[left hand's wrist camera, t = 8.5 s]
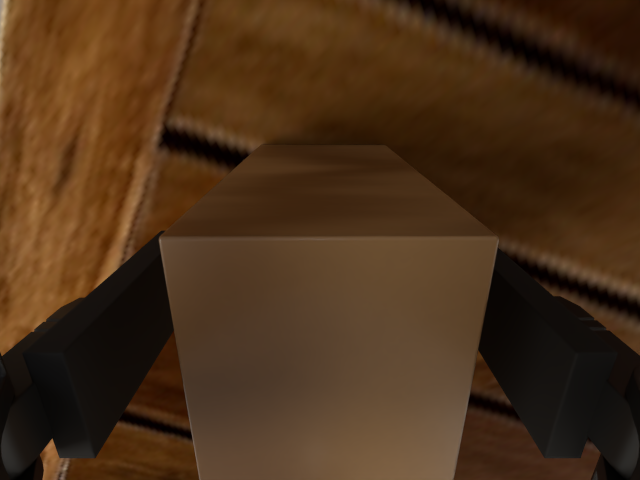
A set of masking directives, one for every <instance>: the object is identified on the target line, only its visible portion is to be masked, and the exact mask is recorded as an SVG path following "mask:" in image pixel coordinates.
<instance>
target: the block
mask: <svg viewBox="0 0 640 480" xmlns="http://www.w3.org/2000/svg"><path fill="white" fill-rule="evenodd" d="M498 243H499V238H498V236H497V235H496V234H494V233H493V232H492V231H491V230H489V229H488V228H487V227H486V226H485V225H483V224H482V223H481V222H480V221H478V220H477V219H476V218H475V217H473V216H472V215H471V214H470V213H469V212H467V211H466V210H465V209H464V208H462V207H461V206H460V205H459V204H457V203H456V202H455V201H454V200H452V199H451V198H450V197H449V196H448V195H446V194H445V193H444V192H443V191H441V190H440V189H439V188H438V187H436V186H435V185H434V184H433V183H432V182H430V181H429V180H428V179H427V178H425V177H424V176H423V175H422V174H420V173H419V172H418V171H417V170H415V169H414V168H413V167H412V166H411V165H409V164H408V163H407V162H406V161H404V160H403V159H402V158H401V157H399V156H398V155H397V154H396V153H394V152H393V151H392V150H391V149H390V148H388V147H387V146H386V145H260V146H259V147H258V148H257V149H256V150H255V151H254V152H252V153H251V154H250V155H249V156H248V157H247V158H246V159H245V160H244V161H243V162H241V163H240V164H239V165H238V166H237V167H236V168H235V169H234V170H233V171H231V172H230V173H229V174H228V175H227V176H226V177H225V178H224V179H223V180H221V181H220V182H219V183H218V184H217V185H216V186H215V187H214V188H213V189H212V190H210V191H209V192H208V193H207V194H206V195H205V196H204V197H203V198H202V199H200V200H199V201H198V202H197V203H196V204H195V205H194V206H193V207H192V208H191V209H189V210H188V211H187V212H186V213H185V214H184V215H183V216H182V217H181V218H179V219H178V220H177V221H176V222H175V223H174V224H173V225H172V226H171V227H170V228H168V229H167V230H166V231H165V232H164V233H163V234H162V235H161V236H160V237H159V245H160V251H161V257H162V262H163V268H164V274H165V280H166V286H167V292H168V297H169V303H170V309H171V315H172V321H173V327H174V333H175V338H176V344H177V350H178V356H179V362H180V368H181V374H182V379H183V385H184V391H185V397H186V403H187V409H188V414H189V420H190V426H191V432H192V438H193V444H194V450H195V455H196V461H197V467H198V473H199V479H200V480H454V474H455V469H456V464H457V459H458V453H459V448H460V443H461V438H462V432H463V427H464V422H465V416H466V411H467V406H468V401H469V395H470V390H471V385H472V380H473V374H474V369H475V364H476V359H477V353H478V348H479V343H480V337H481V332H482V327H483V322H484V316H485V311H486V306H487V301H488V295H489V290H490V285H491V280H492V274H493V269H494V264H495V259H496V253H497V248H498Z"/></svg>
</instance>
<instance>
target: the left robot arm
mask: <svg viewBox="0 0 640 480" xmlns="http://www.w3.org/2000/svg"><path fill="white" fill-rule="evenodd" d="M164 232H165V231H161V232H159V233H158V234H157V235H156V236H155V237H154V238H153V239H151V240H150V241H149V242H148V243H147V244H146V245H145V246H143V247H142V248H141V249H140V250H139V251H138V252H137V253H136V254H134V255H133V256H132V257H131V258H130V259H129V260H128V261H126V262H125V263H124V264H123V265H122V266H121V267H120V268H118V269H117V270H116V271H115V272H114V273H113V274H112V275H110V276H109V277H108V278H107V279H106V280H105V281H104V282H102V283H101V284H100V285H99V286H98V287H97V288H96V289H94V290H93V291H92V292H91V293H90V294H89V295H88V296H86V297H85V298H79V299H77V300H75V301H73V302H71V303H69V304H67V305H65V306H63V307H61V308H60V309H58V310H57V311H56V312H55V313H54V314H52V315H51V316H50V317H49V318H48V319H46V322H43V323H42V324H40V325H39V326H38V327H37V328H36V329H34V330H35V331H34V332H31V333H30V334H28V335H27V336H26V337H25V338H24V339H22V340H21V341H20V342H19V343H18V344H16V345H15V346H14V347H13V348H12V349H10V350H9V351H8V352H7V353H6V354H4V355H3V356H1V353H0V480H42V478H43V472H44V469H43V463H42V460H41V457H40V453H41V452H42V451H43V449H44V448H45V447H46V446H47V444H48V443H49V442H50V440H51V439H52V438H53V441H54V444H55V446H56V449H57V452H58V455H59V458H96V456H97V455H98V453H99V451H100V450H101V448H102V446H103V445H104V443H105V441H106V440H107V438H108V437H109V435H110V433H111V432H112V430H113V428H114V427H115V425H116V424H117V422H118V420H119V419H120V417H121V415H122V414H123V412H124V411H125V409H126V407H127V406H128V404H129V402H130V401H131V399H132V397H133V396H134V394H135V393H136V391H137V389H138V388H139V386H140V384H141V383H142V381H143V380H144V378H145V376H146V375H147V373H148V371H149V370H150V368H151V367H152V365H153V363H154V362H155V360H156V358H157V357H158V355H159V353H160V352H161V350H162V349H163V347H164V345H165V344H166V342H167V340H168V339H169V337H170V336H171V334H172V332H173V331H174V327H173V321H172V315H171V309H170V303H169V297H168V292H167V286H166V280H165V274H164V268H163V262H162V257H161V251H160V245H159V237H160V236H161V235H162V234H163V233H164ZM478 350H479V352H480V353H481V355H482V357H483V358H484V360H485V362H486V363H487V365H488V366H489V368H490V370H491V371H492V373H493V375H494V376H495V378H496V380H497V381H498V383H499V384H500V386H501V388H502V389H503V391H504V393H505V394H506V396H507V397H508V399H509V401H510V402H511V404H512V406H513V407H514V409H515V411H516V412H517V414H518V415H519V417H520V419H521V420H522V422H523V424H524V425H525V427H526V428H527V430H528V432H529V433H530V435H531V437H532V438H533V440H534V441H535V443H536V445H537V446H538V448H539V450H540V451H541V453H542V455H543V456H544V458H581V455H582V452H583V449H584V446H585V444H586V441H587V438H588V437H589V438H590V439H591V441H592V442H593V443H594V445H595V446H596V447H597V448H598V450H599V451H600V452H601V455H600V457H599V460H598V462H597V465H596V468H595V470H594V473H593V475H592V478H591V480H640V356H639V355H638V354H637V353H636V352H635V351H633V350H632V349H631V348H630V347H628V346H627V345H626V344H625V343H624V342H622V341H621V340H620V339H619V338H618V337H616V336H615V335H614V334H613V333H612V332H610V331H607V330H606V328H605V327H604V326H603V325H602V324H601V323H599V322H598V321H597V320H594V318H593V317H592V316H591V315H590V314H589V313H587V312H586V311H585V310H584V309H582V308H581V307H580V306H578V305H576V304H574V303H572V302H570V301H568V300H566V299H564V298H562V297H561V296H552V295H551V294H550V293H549V292H548V291H547V290H546V289H544V288H543V287H542V286H541V285H540V284H539V283H538V282H536V281H535V280H534V279H533V278H532V277H531V276H530V275H528V274H527V273H526V272H525V271H524V270H523V269H522V268H520V267H519V266H518V265H517V264H516V263H515V262H514V261H512V260H511V259H510V258H509V257H508V256H507V255H506V254H505V253H503V252H502V251H501V250H500V249H499V248H497V253H496V259H495V264H494V269H493V274H492V280H491V285H490V290H489V295H488V301H487V306H486V311H485V316H484V322H483V327H482V332H481V337H480V343H479V348H478Z"/></svg>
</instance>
